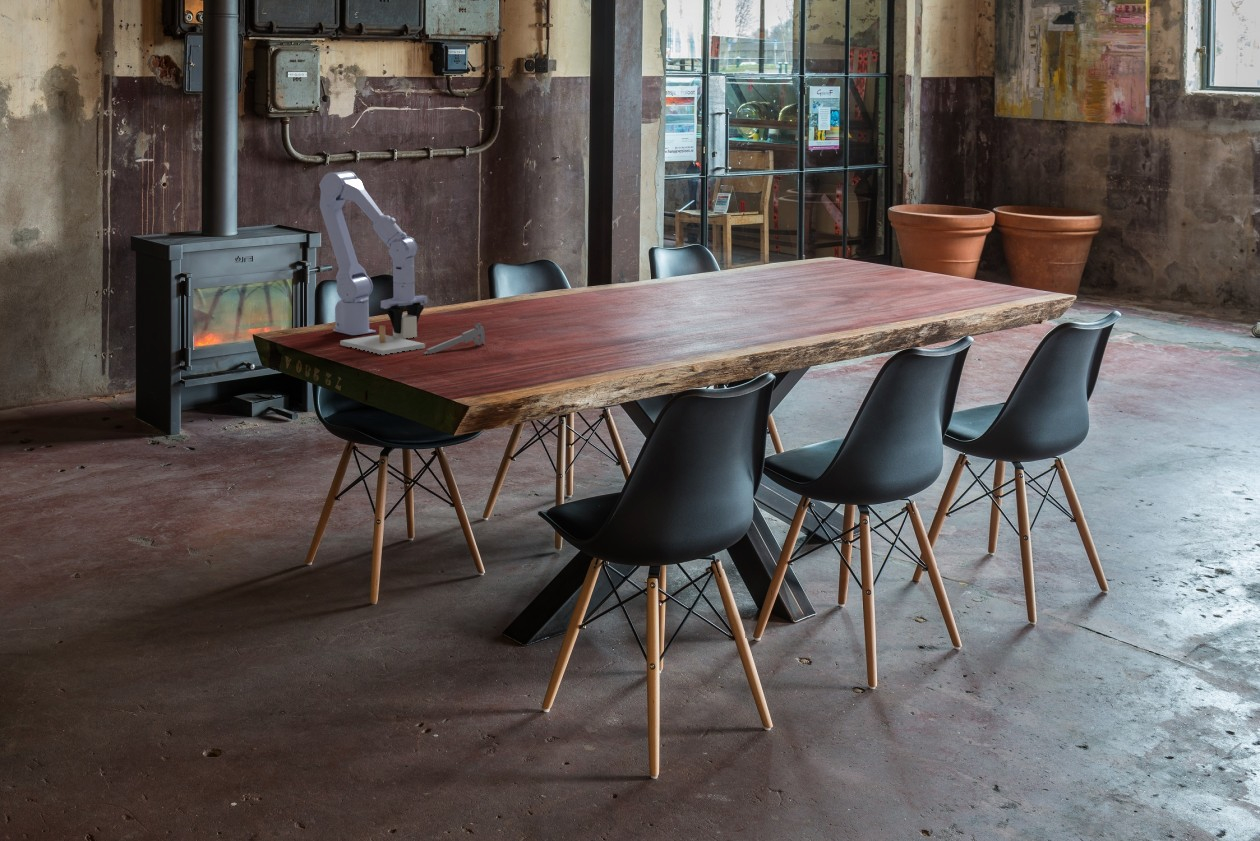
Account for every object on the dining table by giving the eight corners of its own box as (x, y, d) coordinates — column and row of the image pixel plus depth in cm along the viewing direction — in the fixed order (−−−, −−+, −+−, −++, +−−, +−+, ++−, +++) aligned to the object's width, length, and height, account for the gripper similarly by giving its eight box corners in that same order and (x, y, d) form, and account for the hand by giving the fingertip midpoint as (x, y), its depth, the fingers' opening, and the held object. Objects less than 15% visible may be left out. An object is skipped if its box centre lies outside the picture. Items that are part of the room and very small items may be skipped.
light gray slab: (340, 345, 370) (339, 324, 369) (382, 338, 380) (382, 318, 379) (382, 355, 359) (381, 334, 357) (425, 348, 369) (424, 327, 367)
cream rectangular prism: (393, 336, 383) (392, 315, 382) (406, 334, 387) (406, 313, 385) (403, 339, 380) (403, 318, 379) (416, 337, 384) (416, 316, 382)
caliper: (482, 344, 376) (481, 321, 375) (484, 345, 375) (484, 322, 374) (423, 355, 361) (422, 331, 360) (425, 355, 361) (425, 331, 359)
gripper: (391, 286, 372) (392, 337, 375) (434, 281, 382) (434, 330, 386) (375, 283, 377) (376, 333, 380) (417, 278, 387) (418, 327, 390)
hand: (404, 331), depth 383 cm, fingers closed on cream rectangular prism, 5 cm apart
